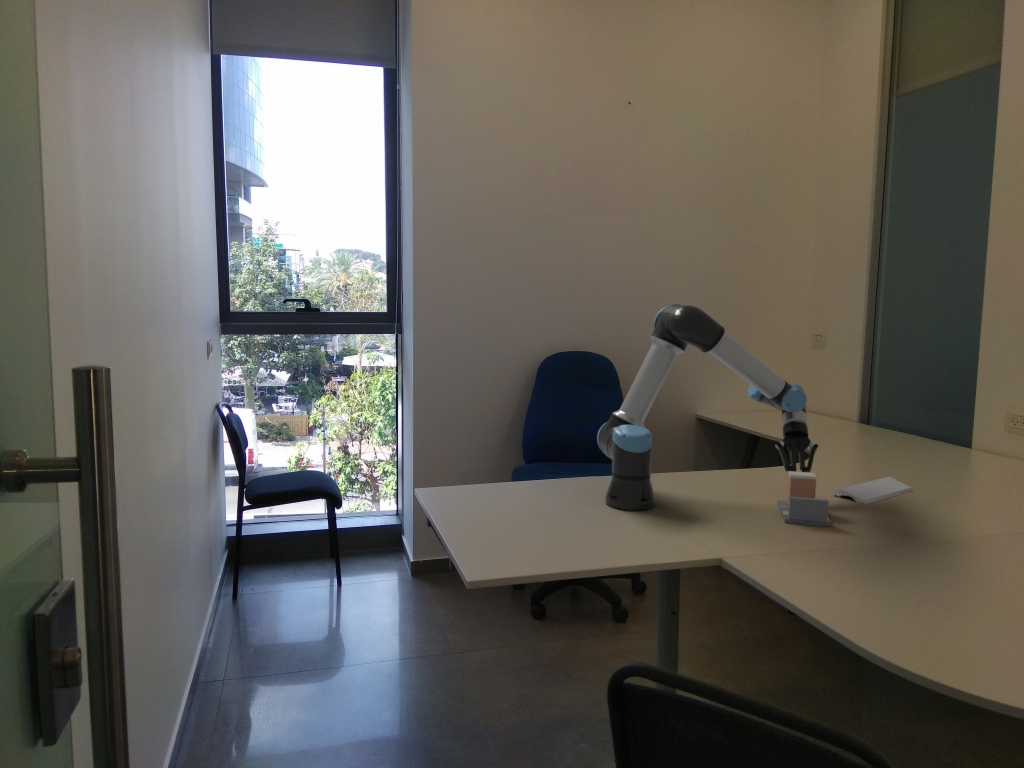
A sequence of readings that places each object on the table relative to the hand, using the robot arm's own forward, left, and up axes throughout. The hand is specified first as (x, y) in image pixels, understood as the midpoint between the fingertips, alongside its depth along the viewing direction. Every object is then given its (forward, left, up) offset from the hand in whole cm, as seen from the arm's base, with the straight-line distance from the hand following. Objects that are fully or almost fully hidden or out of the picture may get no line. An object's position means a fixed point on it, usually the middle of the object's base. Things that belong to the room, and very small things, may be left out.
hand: (799, 490), depth 220 cm
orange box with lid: (0, -5, -4) cm, 6 cm away
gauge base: (0, -9, -5) cm, 10 cm away
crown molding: (+26, +23, -6) cm, 35 cm away
